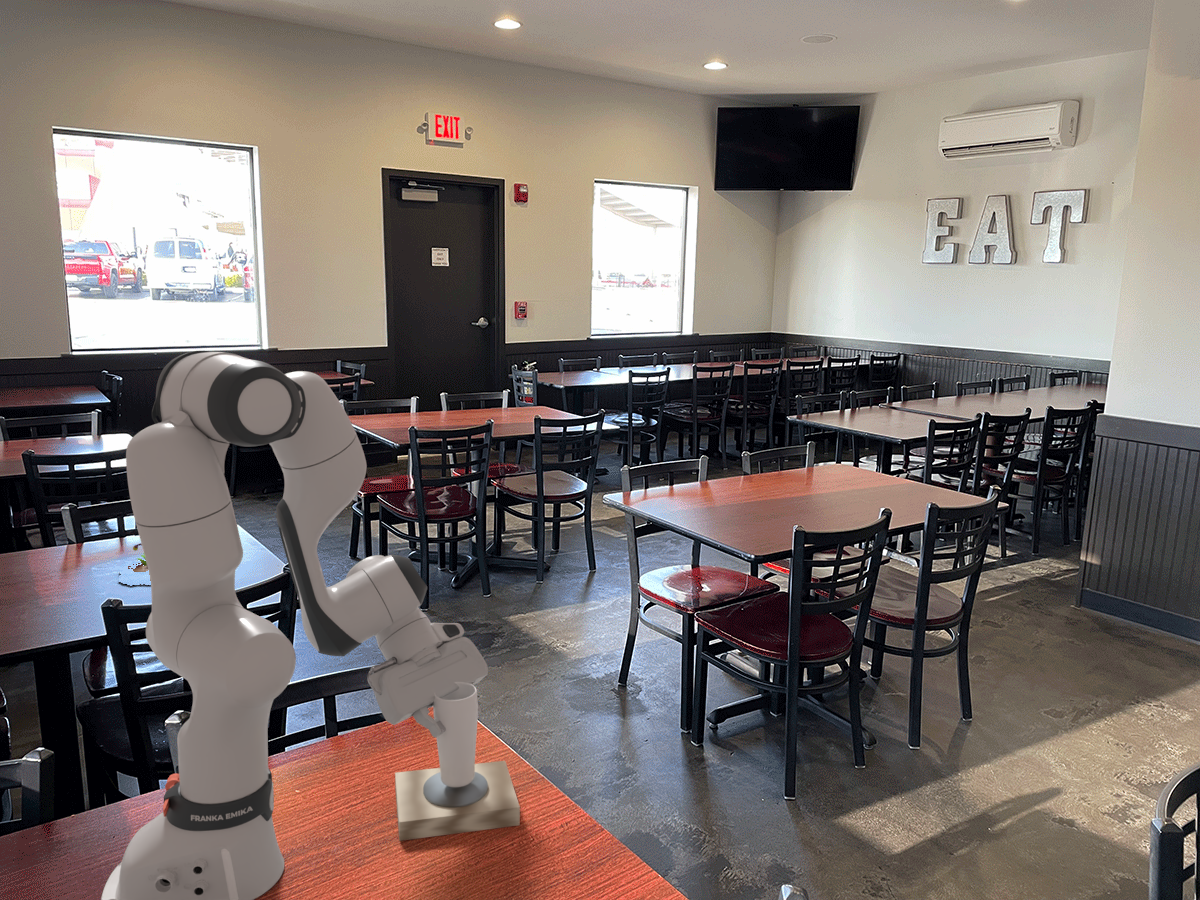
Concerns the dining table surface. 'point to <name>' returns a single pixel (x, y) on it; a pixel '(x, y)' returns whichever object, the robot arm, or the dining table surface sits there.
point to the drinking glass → (457, 734)
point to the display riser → (455, 802)
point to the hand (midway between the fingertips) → (458, 724)
